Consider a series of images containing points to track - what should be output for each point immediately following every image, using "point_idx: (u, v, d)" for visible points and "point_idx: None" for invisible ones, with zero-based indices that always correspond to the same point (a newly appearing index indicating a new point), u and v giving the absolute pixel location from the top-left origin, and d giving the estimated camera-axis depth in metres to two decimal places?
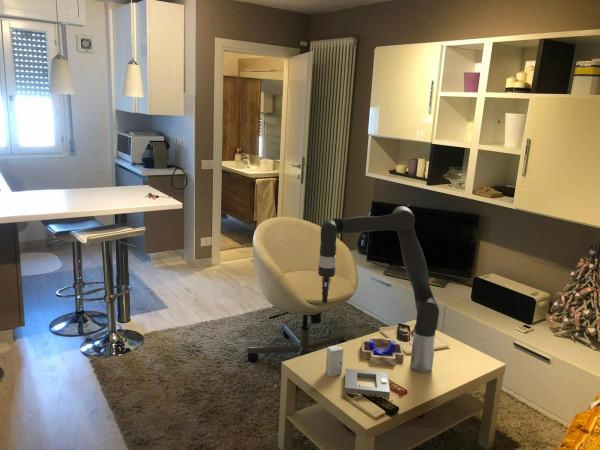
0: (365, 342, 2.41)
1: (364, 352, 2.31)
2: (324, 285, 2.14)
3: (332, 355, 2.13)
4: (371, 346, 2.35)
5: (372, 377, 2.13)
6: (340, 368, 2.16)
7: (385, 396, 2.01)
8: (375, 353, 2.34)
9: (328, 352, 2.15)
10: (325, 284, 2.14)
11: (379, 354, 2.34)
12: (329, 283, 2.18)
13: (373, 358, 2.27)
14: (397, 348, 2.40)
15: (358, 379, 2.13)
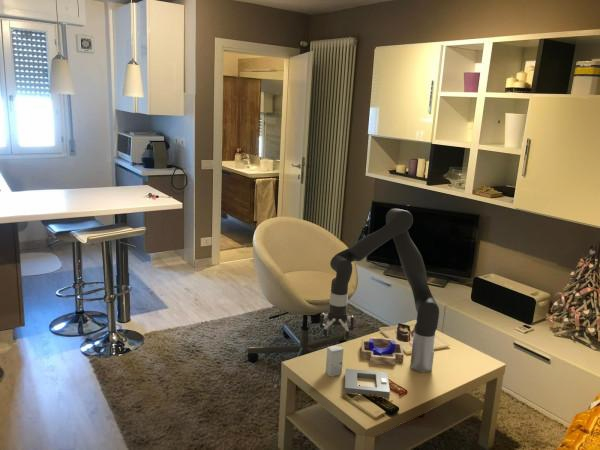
0: (365, 342, 2.41)
1: (364, 352, 2.31)
2: (353, 319, 2.11)
3: (332, 355, 2.13)
4: (371, 346, 2.36)
5: (372, 377, 2.13)
6: (340, 368, 2.16)
7: (385, 396, 2.01)
8: (375, 353, 2.35)
9: (328, 352, 2.15)
10: None
11: (379, 354, 2.35)
12: None
13: (373, 358, 2.27)
14: (397, 348, 2.40)
15: (358, 379, 2.13)
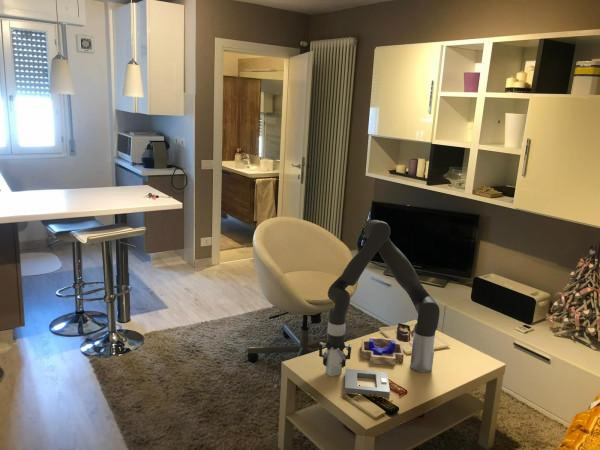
0: (365, 342, 2.41)
1: (364, 352, 2.31)
2: None
3: (332, 355, 2.13)
4: (371, 345, 2.36)
5: (372, 377, 2.13)
6: (340, 368, 2.16)
7: (385, 396, 2.01)
8: (375, 352, 2.35)
9: None
10: None
11: (379, 353, 2.35)
12: None
13: (373, 358, 2.27)
14: (397, 348, 2.40)
15: (358, 379, 2.13)
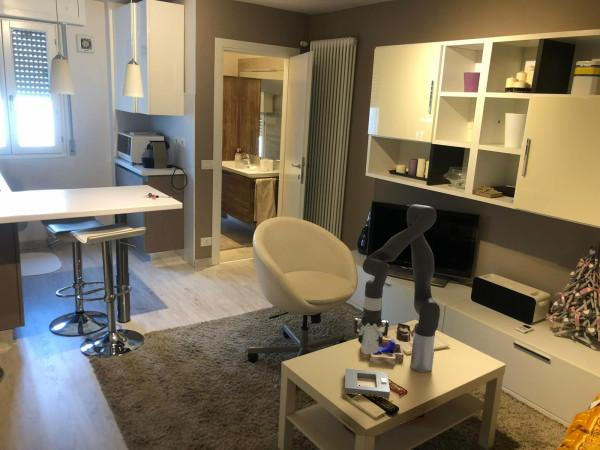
0: None
1: None
2: None
3: (368, 332, 2.00)
4: None
5: (372, 377, 2.13)
6: (376, 345, 2.04)
7: (385, 396, 2.01)
8: None
9: None
10: None
11: (379, 352, 2.36)
12: None
13: (373, 358, 2.27)
14: (397, 348, 2.40)
15: (358, 379, 2.13)
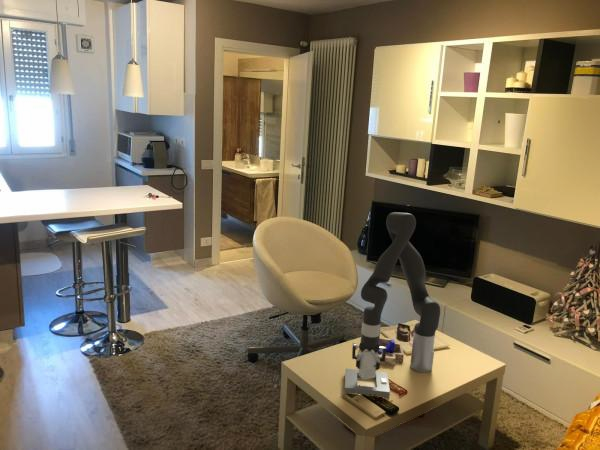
0: None
1: None
2: (385, 350, 2.04)
3: (366, 357, 2.03)
4: None
5: None
6: (374, 371, 2.06)
7: (385, 396, 2.01)
8: None
9: None
10: (385, 349, 2.04)
11: (378, 352, 2.36)
12: None
13: None
14: (397, 348, 2.40)
15: (358, 379, 2.13)
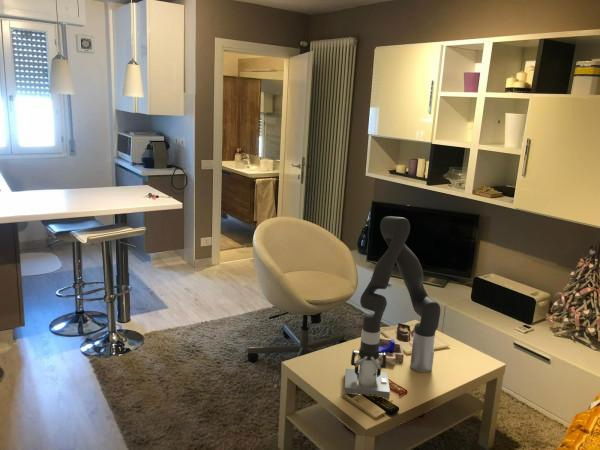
0: None
1: None
2: (385, 357, 2.05)
3: (366, 366, 2.04)
4: None
5: None
6: (374, 380, 2.07)
7: (385, 396, 2.01)
8: None
9: (362, 363, 2.06)
10: (385, 355, 2.05)
11: None
12: None
13: None
14: (397, 348, 2.40)
15: (358, 379, 2.13)
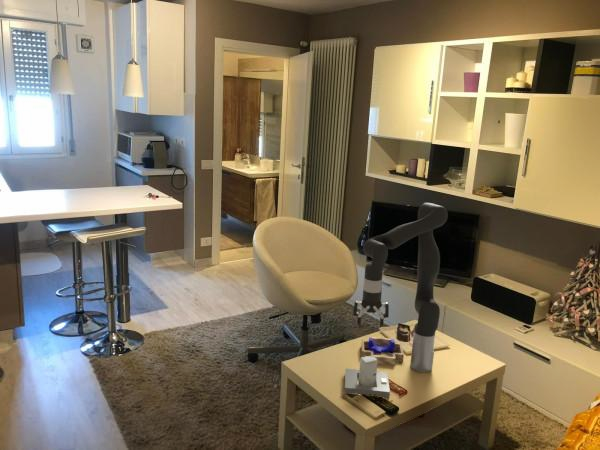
0: (365, 342, 2.41)
1: (364, 352, 2.31)
2: None
3: (366, 366, 2.04)
4: (370, 344, 2.38)
5: None
6: (374, 380, 2.07)
7: (385, 396, 2.01)
8: (374, 351, 2.37)
9: (362, 363, 2.06)
10: None
11: (378, 352, 2.36)
12: None
13: None
14: (397, 348, 2.40)
15: (358, 379, 2.13)
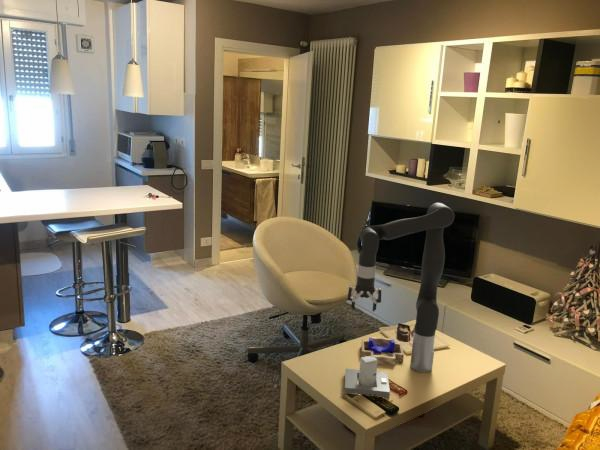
0: (365, 342, 2.41)
1: (364, 352, 2.31)
2: None
3: (366, 366, 2.04)
4: (370, 344, 2.37)
5: None
6: (374, 380, 2.07)
7: (385, 396, 2.01)
8: (374, 351, 2.37)
9: (362, 363, 2.06)
10: None
11: (378, 352, 2.36)
12: None
13: None
14: (397, 348, 2.40)
15: (358, 379, 2.13)
